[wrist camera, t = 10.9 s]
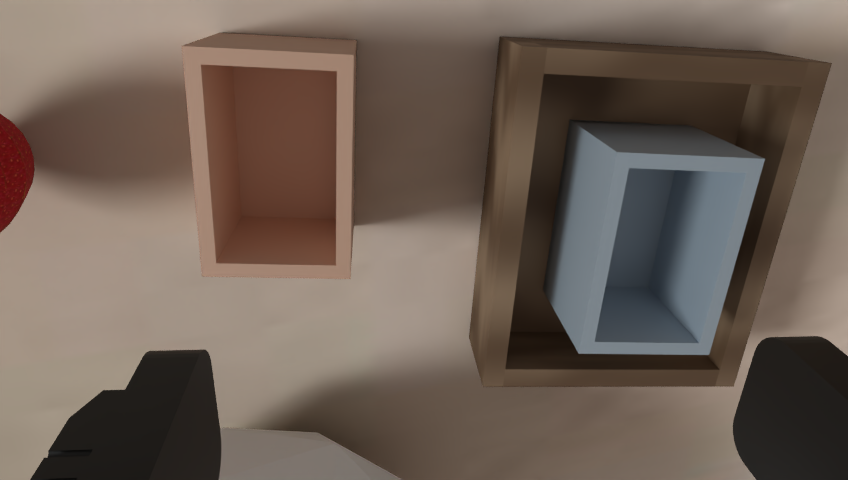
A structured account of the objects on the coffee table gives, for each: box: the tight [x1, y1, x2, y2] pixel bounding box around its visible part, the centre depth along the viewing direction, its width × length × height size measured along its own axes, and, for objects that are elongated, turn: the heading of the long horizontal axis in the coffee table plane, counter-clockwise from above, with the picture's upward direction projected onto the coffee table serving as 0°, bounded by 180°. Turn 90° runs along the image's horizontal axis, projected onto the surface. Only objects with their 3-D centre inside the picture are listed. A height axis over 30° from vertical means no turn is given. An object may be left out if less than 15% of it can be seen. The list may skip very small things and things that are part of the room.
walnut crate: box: [469, 37, 832, 387], centre depth 30 cm, size 16×13×4 cm
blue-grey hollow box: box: [543, 120, 765, 355], centre depth 28 cm, size 9×6×6 cm, turn 176°
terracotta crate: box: [182, 33, 357, 279], centre depth 26 cm, size 9×6×6 cm, turn 177°
